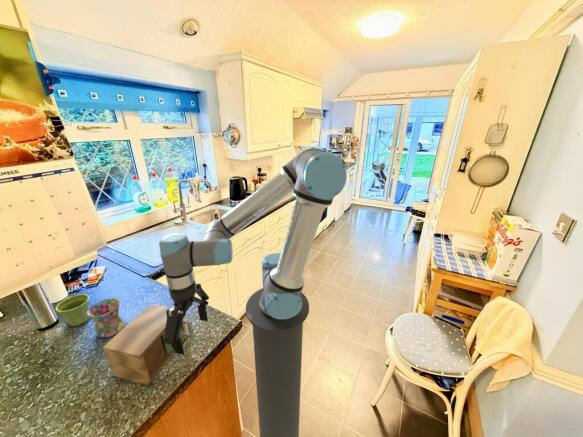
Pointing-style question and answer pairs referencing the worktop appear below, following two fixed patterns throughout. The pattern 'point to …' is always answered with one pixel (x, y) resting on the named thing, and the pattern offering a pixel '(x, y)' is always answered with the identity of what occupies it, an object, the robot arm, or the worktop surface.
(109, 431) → the worktop surface
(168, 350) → the sliding door
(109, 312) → the mug
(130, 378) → the cupboard
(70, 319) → the plant pot
